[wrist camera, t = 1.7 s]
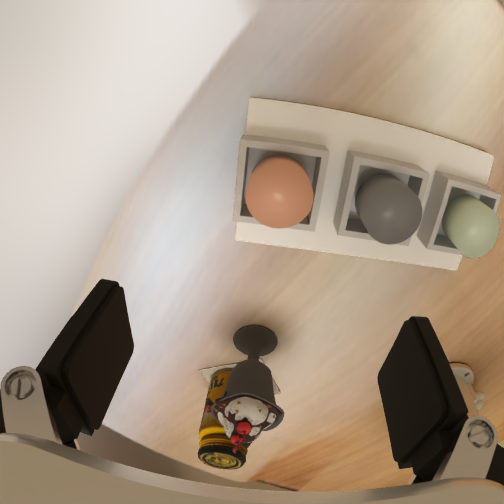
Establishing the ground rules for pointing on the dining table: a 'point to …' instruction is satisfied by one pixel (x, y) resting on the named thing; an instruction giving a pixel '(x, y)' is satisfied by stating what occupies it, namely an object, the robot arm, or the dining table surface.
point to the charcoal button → (388, 208)
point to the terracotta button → (279, 192)
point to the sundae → (249, 390)
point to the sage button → (470, 225)
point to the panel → (358, 179)
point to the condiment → (211, 432)
